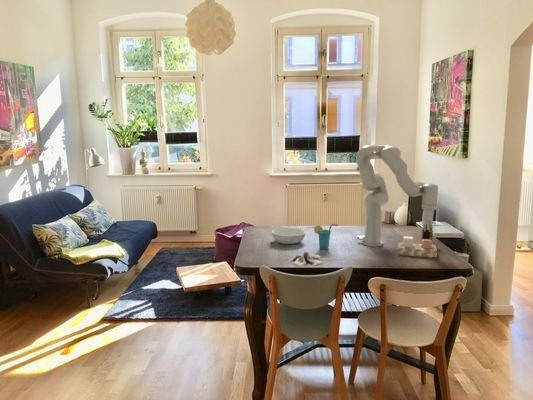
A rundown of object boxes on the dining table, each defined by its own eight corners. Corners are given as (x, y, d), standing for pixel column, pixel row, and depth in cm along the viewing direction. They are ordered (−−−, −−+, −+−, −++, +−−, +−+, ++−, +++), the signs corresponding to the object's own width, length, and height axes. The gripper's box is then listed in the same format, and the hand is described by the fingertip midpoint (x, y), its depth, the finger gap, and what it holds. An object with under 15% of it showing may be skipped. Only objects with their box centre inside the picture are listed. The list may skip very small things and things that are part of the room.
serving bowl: (293, 249, 247) (293, 237, 246) (264, 243, 260) (264, 232, 259) (311, 241, 264) (311, 230, 262) (284, 236, 276) (284, 226, 275)
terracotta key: (421, 252, 236) (422, 241, 235) (421, 249, 241) (421, 239, 239) (431, 252, 234) (432, 242, 233) (430, 250, 239) (431, 239, 238)
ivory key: (403, 249, 238) (403, 238, 237) (403, 246, 243) (403, 236, 242) (412, 249, 237) (413, 238, 236) (412, 247, 242) (412, 236, 241)
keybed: (398, 254, 236) (398, 247, 236) (398, 248, 248) (398, 242, 247) (436, 257, 231) (437, 250, 230) (434, 251, 242) (435, 244, 241)
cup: (335, 246, 252) (335, 222, 250) (339, 250, 245) (339, 225, 242) (312, 247, 251) (312, 222, 248) (315, 251, 243) (316, 225, 240)
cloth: (318, 255, 238) (318, 244, 236) (328, 266, 220) (329, 254, 219) (279, 257, 234) (279, 246, 232) (287, 268, 216) (287, 257, 214)
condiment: (435, 245, 255) (436, 226, 253) (426, 247, 250) (427, 228, 248) (424, 242, 261) (425, 223, 259) (415, 244, 256) (417, 225, 254)
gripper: (421, 203, 241) (418, 234, 245) (422, 208, 227) (419, 241, 231) (435, 204, 239) (432, 235, 243) (437, 209, 225) (434, 242, 228)
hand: (426, 238), depth 237 cm, fingers closed
